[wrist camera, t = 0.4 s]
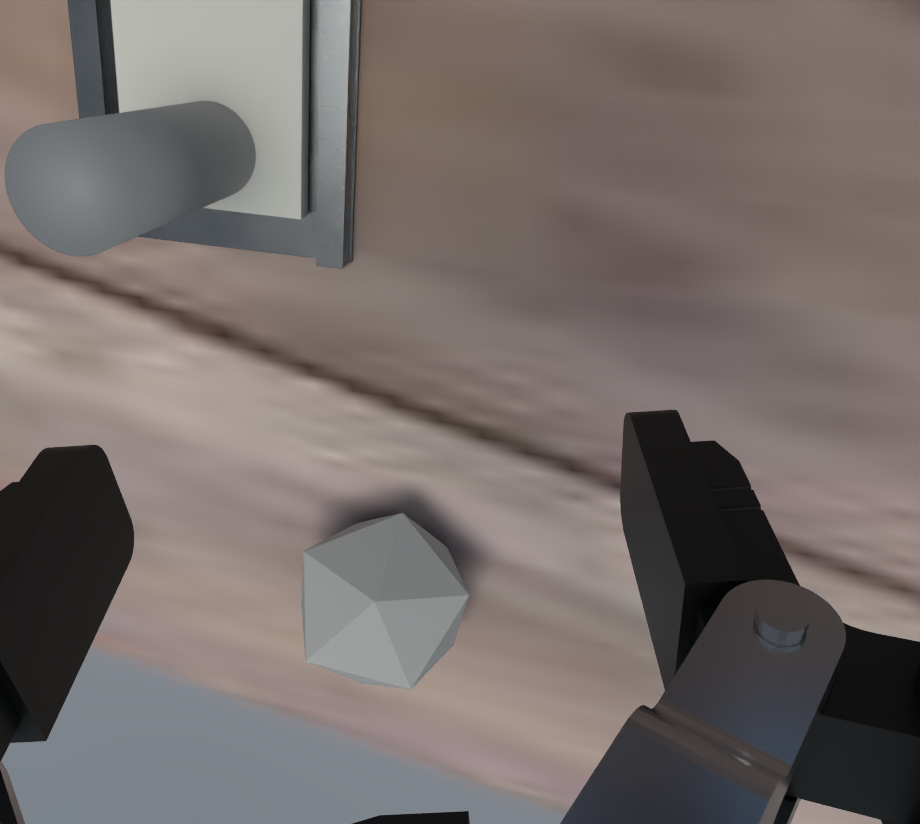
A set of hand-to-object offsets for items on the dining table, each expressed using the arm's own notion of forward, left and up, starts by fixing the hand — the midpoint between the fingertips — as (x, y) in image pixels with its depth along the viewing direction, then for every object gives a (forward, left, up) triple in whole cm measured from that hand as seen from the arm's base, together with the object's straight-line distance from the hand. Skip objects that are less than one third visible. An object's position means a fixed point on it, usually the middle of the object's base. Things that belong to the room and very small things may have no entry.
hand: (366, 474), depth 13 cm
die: (+20, -4, -26) cm, 33 cm away
